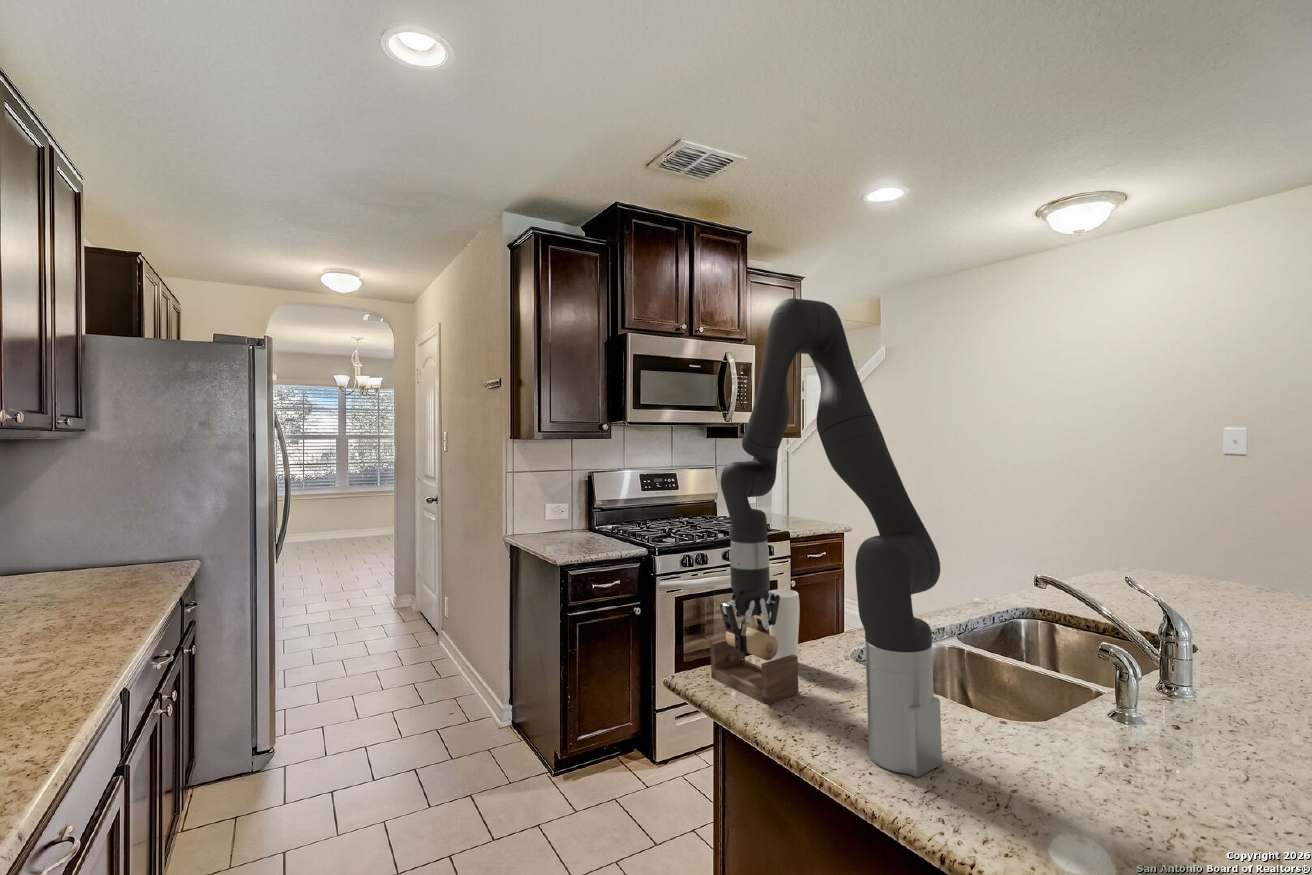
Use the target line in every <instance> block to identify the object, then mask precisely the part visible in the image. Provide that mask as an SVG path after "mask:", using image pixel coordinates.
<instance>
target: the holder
mask: <svg viewBox="0 0 1312 875" xmlns="http://www.w3.org/2000/svg"><path fill="white" fill-rule="evenodd" d="M709 645H710V670H711V671H710V672H711V675H710V676H711V678H713V679H714V680H717V681H719V682H720V683H722V684H725V685H727V686H729V687H731V688H733V689H735V690H736V691H739V692H740V693H743V694H744V695H747V696H749V697H751V698H753V697H754V698H753V699H754V700H757V701H759V702H761V701H762V702H761V703H763V702H764V703H763V704H765V705H771V704H772V702H773V703H776V702H779V701H781V700H784V698H785V699H788V698H789V697H790V698H791V697H792V696H793V697H794V696H795V695H796V696H797V695H799V694H798V693H799V688H800V687H799V663H798V662H799V661H798V660H799V659H798V657H799V656H796V655H789V656H786V657H783V658H779V659H776V660H773V661H772V660H768V661H766V662H763V663H761V665H760V666H759V665H757V664H755V663H752V662H750V661H748V660H746V654H745V655H741V654H739V653H737V651H736V649H735V647H733V646H730V645H729V644H728V643H727V641H726V638H723V639H719V640H715V641H711V642H710V643H709ZM742 659H743V660H742ZM787 697H788V698H787ZM775 701H776V702H775Z"/></svg>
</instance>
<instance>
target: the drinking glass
mask: <svg viewBox="0 0 1312 875" xmlns="http://www.w3.org/2000/svg"><path fill="white" fill-rule="evenodd" d="M768 592H770V593H774V594H777V595H779V596H780V601H779V606H778V612H777V618H776V623H775V625H771V626H769V629H768V631H769V632H768V633H769V635H772V636H774V637H775V638H776V639H777V642H778V650H777V653H776V655H775V657H774V658H773V659H771V661H773V660H776V659H779V658H783V657H786V656H789V655H796V656H798V650H799V649H798V648H799V629H800V628H799V627H800V611H801V609H800V596H799V593H798V592H797V591H796V590H793V589H792V590H791V589H783V588H782V589H771V590H768ZM770 618H771V611H770ZM798 657H799V656H798Z"/></svg>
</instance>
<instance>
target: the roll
mask: <svg viewBox="0 0 1312 875" xmlns="http://www.w3.org/2000/svg"><path fill="white" fill-rule="evenodd" d="M740 628H741V624H740ZM745 635H746V642H747V643H746V647H747V653H748V654H750V655H751V656H752V655H753V656H754V657H757V658H759V659H762V660H764V661H772V659H773V658H774V657H775V655H776V653H777V650H778V642H777V639H776V638H775V637H774V636H772V635H770V633H768V634H766V633H763V632H761V631H758V630H756V628H753V627H752V628H751V627H750V626H747V630H746V634H745ZM725 639H726V641H727V643H728V644H729V645H730V646H733V647H735V635H734V634H733V633H730V632H728V631H726V630H725Z"/></svg>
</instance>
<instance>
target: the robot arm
mask: <svg viewBox="0 0 1312 875" xmlns="http://www.w3.org/2000/svg"><path fill="white" fill-rule="evenodd" d="M844 329H845V328H844V326H843V323H842V320H841V317H840V315H839V314H838V311H836V309H835V308H834V307H833V305H832V304H831V305H830V304H829V303H827V302H824V301H820V300H812V299H811V300H810V299H806V298H805V299H804V298H787V299H783V301H781V302H780V303H778V305H777V306H776V307H775V309H774V311H773V312H772V315H771V318H770V321H769V325H768V329H767V334H766V338H765V339H766V340H765V345H764V351H763V356H762V362H761V368H760V375H759V379H758V380H759V381H758V387H757V391H756V396H755V399H754V403H753V407H752V410H751V413H750V416H749V419H748V422H747V424H746V427H745V430H744V433H743V436H742V440H741V447H742V449H743V450H744V452H746V453H747V454H748V455H749V456H751V457H752V460H747V461H745V460H744V461H732V462H730V463H727V464H726V465H725V466H724V467H723V469H722V472H721V475H720V487H721V492H722V495H723V498H724V501H725V506H726V509H727V512H728V516H729V519H730V548H729V562H730V587H731V589H732V596H731V599H730V600H729V601H728V602H726V603H725V602H723V601H722V602H721V603H720V604H719V609H720V613H721V617H722V620H723V621H722V622H723V623H724V629H725V632H726V631H728V632H730V633H733V634H734V635H735V649H736V651H737V653H739V654H741V655H745V656H746V655H747V647H746V643H747V642H746V635H745V634H746V630H747V627H748V625H750V623H751V619H752V617H753V618H754V621H755V624H756V628H755V630H758V631H761V632H763V633H766V634H769V632H768V631H769V626H771V625H775V623H776V618H777V612H778V606H779V601H780V596H779V595H777V594H774V593H770V592H769V590H768V589H769V588H770V586H771V585H770V583H771V582H770V553H769V551H770V550H769V546H768V524H767V523H768V522H767V515H766V513H765V511H763V510H761V509H756V508H752V507H751V505H750V501H749V498H755V497H762V496H765V495H767V494H769V492H771V490H772V489H773V487H774V485H775V482H776V479H777V468H778V453H779V448H780V446H781V443H782V441H783V438H784V436H785V433H786V430H787V428H788V425H789V420H790V403H789V402H790V401H789V395H788V388H787V387H788V383H787V382H788V374H789V371H790V367H791V365H792V363H793V360H794V358H795V357H796V354H801V355H802V354H804V355H809V357H810V358H811V361H812V362H813V365H814V367H815V370H816V373H817V375H818V379H819V382H820V383H819V384H820V396H819V399H818V400H819V401H818V405H817V412H816V428H817V429H816V430H817V432H818V433H817V434H818V436H819V439H820V442H821V445H822V447H823V450H824V452H825V455H826V457H827V460H828V462H829V464H830V465H831V467H832V469H833V471H835V473H836V474H837V475H838V477H839V478H840V479H841V480H842V481H843V482H844V484H846V485H847V486H848V487H849V489H850V490H852V492H854V494H855V495H856V496H857V497H858V498H859V499H860V500H861V502H862V503H863V504H864V505H865V506H866V509H867V510H868V511H869V513H870V515H871V517H872V519H873V521H874V523H875V526H876V528H877V531H878V535H875V536H871V537H867V538H866V539H865V540H864V541H863V542H861V543H860V546H858V549H857V553H856V556H855V568H854V569H855V584H856V585H855V586H856V596H857V607H858V615H859V618H860V622H861V624H862V627H863V629H864V636H865V637H864V638H865V639H864V640H865V643H864V644H865V647H864V648H865V676H866V677H865V680H866V701H867V702H866V707H867V709H866V710H867V712H866V713H867V734H868V735H867V736H868V738H867V739H868V755H869V757H870V759H871V760H872V761H873V762H874V763H875V764H877V765H878V766H879V767H881V768H883V769H886V770H889V771H892V772H895V773H899V774H906V775H910V776H913V777H915V778H919V777H921V776H923V775H925V774H927V773H928V772H931V771H932V770H934V769H936V768H937V767H939V766H941V765H942V764H943V754H942V748H943V747H942V725H941V724H942V723H941V722H942V721H941V719H942V718H941V716H942V715H941V701H940V699H939V697H936V696H934V674H933V671H934V670H933V669H934V668H933V665H934V664H933V637H932V629H931V626H930V625H929V623H927V622H926V621H924V620H922V619H921V618H918V617H915V616H914V611H913V601H912V595H915V594H919V593H923V592H927V591H928V590H930V589H932V588H934V587H935V586H936V584H937V583H938V581H939V579H940V575H941V560H940V557H939V553H938V551H937V548H936V546H935V544H934V542H933V540H932V537H931V535H930V534H929V532H928V530H927V528H926V526H925V525H924V522H923V521H922V519H921V518H920V515H919V514H918V512H917V510H916V508H915V506H914V504H913V503H912V501H911V498H910V497H909V495H908V492H907V490H906V487H905V486H904V484H903V481H902V479H901V476H900V474H899V471H898V470H897V467H896V465H895V462H894V461H893V458H892V456H891V454H890V451H889V449H888V445H887V444H886V440H885V438H884V435H883V432H882V429H881V427H880V425H879V422H878V420H877V418H876V416H875V413H874V411H873V409H872V407H871V405H870V403H869V400H868V398H867V396H866V395H867V394H866V393H865V390H864V386H863V385H862V382H861V379H860V376H859V374H858V372H857V369H856V367H855V363H854V361H853V358H852V354H851V351H850V346H849V343H848V339H847V336H846V333H845V330H844ZM770 611H771V618H770ZM740 624H741V628H740Z"/></svg>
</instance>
